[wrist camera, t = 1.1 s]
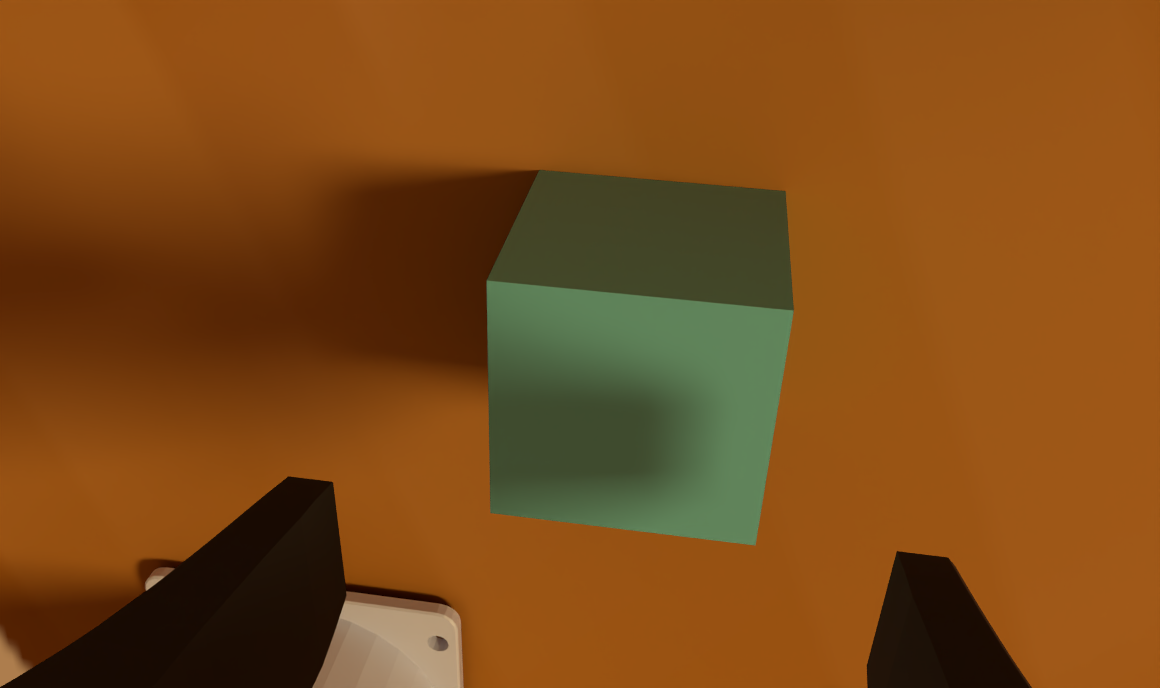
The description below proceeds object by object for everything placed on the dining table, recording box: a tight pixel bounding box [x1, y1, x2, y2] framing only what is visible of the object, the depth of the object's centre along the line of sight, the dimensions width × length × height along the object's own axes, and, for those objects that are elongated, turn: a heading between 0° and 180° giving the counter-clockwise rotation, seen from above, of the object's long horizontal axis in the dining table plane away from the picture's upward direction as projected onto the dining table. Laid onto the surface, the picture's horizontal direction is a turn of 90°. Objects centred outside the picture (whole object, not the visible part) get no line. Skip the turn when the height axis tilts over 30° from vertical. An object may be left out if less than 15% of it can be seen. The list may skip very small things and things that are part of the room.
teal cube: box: [487, 170, 794, 545], centre depth 18 cm, size 4×4×4 cm
